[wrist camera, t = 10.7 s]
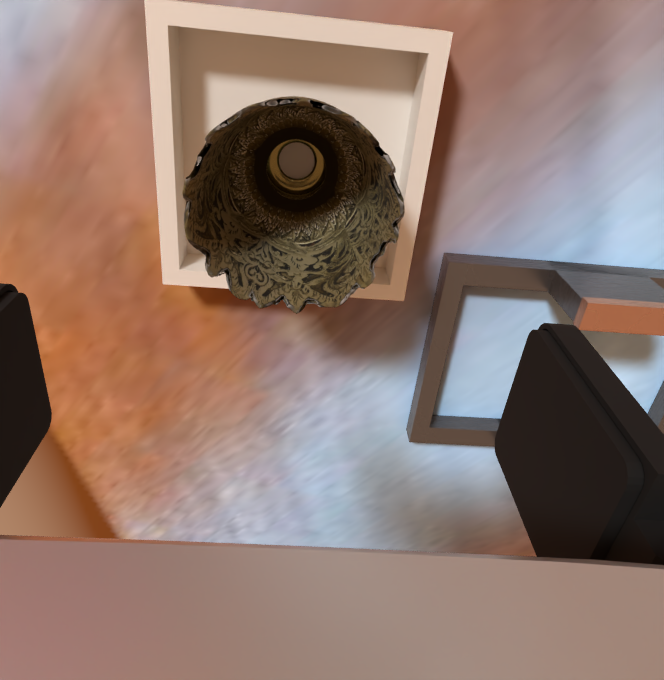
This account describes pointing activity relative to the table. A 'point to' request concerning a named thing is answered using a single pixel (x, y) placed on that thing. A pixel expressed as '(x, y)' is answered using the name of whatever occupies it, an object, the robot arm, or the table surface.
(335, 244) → the cup
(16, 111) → the table surface
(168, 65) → the tray
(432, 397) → the frame
